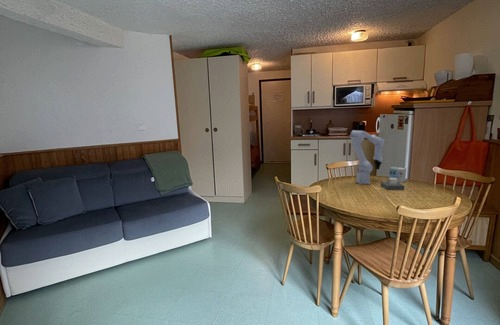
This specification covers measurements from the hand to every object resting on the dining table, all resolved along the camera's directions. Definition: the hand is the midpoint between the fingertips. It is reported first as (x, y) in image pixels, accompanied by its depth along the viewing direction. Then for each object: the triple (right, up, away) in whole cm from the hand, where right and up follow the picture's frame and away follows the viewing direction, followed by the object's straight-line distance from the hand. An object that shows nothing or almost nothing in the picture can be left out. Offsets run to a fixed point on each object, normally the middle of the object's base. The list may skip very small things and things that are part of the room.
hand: (377, 169), depth 222 cm
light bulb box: (+16, -10, 0) cm, 19 cm away
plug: (+2, -12, -20) cm, 24 cm away
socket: (+2, -13, -20) cm, 24 cm away
